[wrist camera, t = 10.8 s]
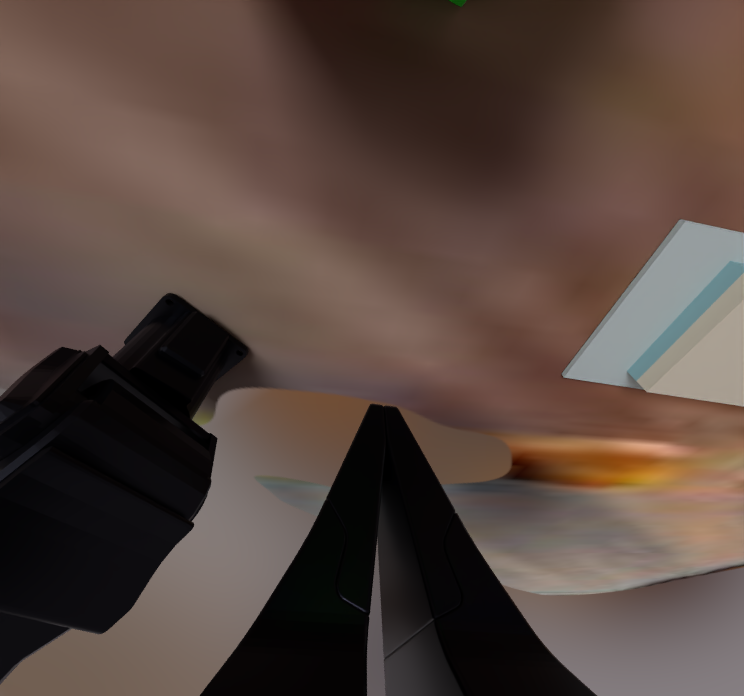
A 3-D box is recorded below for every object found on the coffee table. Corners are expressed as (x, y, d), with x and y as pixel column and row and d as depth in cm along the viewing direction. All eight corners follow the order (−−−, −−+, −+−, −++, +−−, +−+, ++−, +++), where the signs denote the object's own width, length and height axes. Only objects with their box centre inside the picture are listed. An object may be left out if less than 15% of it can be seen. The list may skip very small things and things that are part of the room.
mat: (561, 374, 24) (563, 377, 24) (680, 219, 17) (685, 221, 17) (744, 401, 26) (749, 405, 26) (923, 271, 19) (932, 274, 18)
